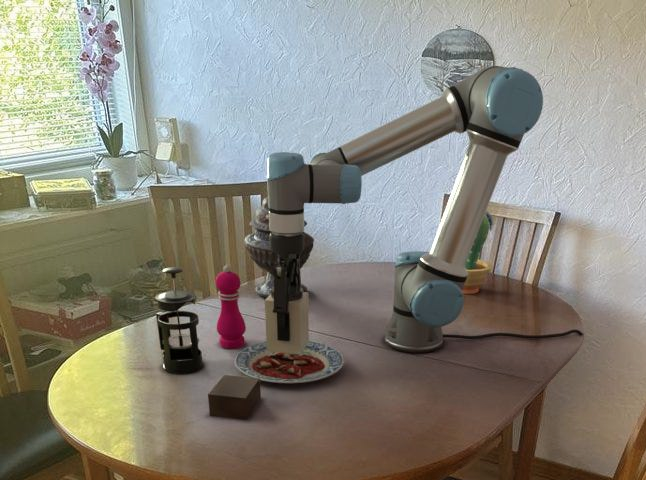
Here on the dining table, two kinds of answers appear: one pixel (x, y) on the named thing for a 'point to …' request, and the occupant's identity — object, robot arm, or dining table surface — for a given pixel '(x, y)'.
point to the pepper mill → (230, 310)
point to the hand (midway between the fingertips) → (288, 333)
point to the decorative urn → (261, 249)
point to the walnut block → (234, 397)
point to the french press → (179, 348)
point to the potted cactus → (473, 264)
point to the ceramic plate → (289, 363)
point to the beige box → (297, 322)
